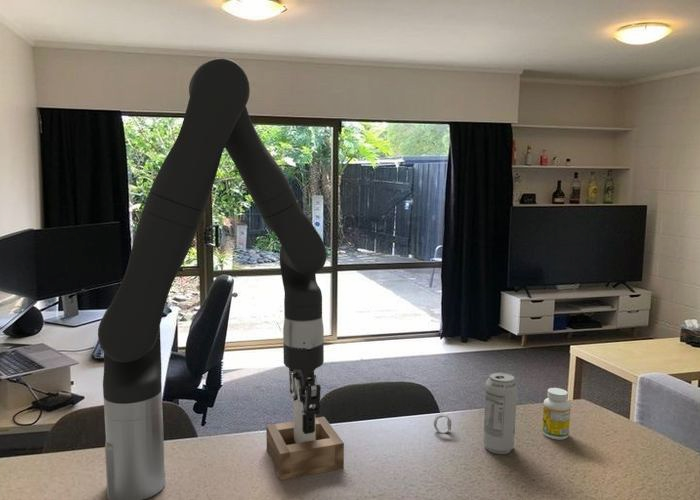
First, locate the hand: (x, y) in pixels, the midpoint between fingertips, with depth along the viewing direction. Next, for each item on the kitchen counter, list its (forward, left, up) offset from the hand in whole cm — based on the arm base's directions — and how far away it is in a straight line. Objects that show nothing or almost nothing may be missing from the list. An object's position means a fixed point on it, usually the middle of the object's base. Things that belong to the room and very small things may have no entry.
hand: (304, 425), depth 106 cm
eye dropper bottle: (0, 0, -4) cm, 4 cm away
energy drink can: (+38, -9, -7) cm, 40 cm away
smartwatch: (+31, +1, -7) cm, 32 cm away
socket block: (0, 0, -7) cm, 7 cm away
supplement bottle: (+53, -8, -7) cm, 54 cm away
